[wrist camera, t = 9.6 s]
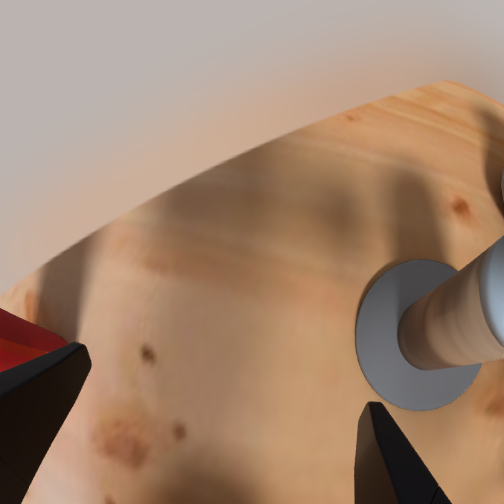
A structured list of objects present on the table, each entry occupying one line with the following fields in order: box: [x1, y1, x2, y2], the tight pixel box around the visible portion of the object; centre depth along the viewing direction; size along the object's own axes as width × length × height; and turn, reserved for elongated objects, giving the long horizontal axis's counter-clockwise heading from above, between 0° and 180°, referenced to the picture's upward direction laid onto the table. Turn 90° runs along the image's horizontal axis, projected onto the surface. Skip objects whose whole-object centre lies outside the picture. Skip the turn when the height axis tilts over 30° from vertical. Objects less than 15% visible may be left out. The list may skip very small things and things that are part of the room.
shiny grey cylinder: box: [397, 236, 504, 371], centre depth 15 cm, size 6×6×12 cm
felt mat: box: [355, 259, 482, 411], centre depth 20 cm, size 12×12×1 cm
